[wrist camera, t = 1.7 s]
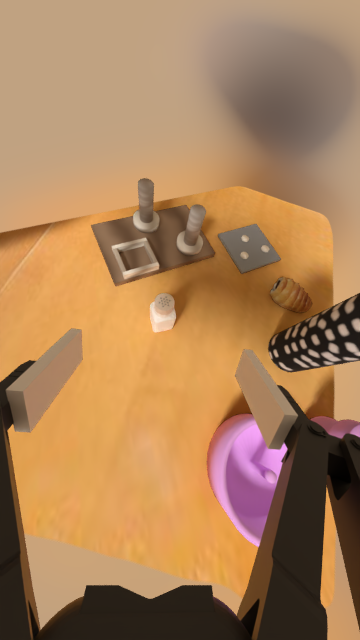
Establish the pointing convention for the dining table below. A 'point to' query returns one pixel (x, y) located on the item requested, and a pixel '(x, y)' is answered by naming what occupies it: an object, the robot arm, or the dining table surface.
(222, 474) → the container set
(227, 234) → the tile
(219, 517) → the dining table surface
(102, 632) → the robot arm
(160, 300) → the pepper shaker
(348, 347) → the spotted tube
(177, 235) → the pin board
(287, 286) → the pastry
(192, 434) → the dining table surface
